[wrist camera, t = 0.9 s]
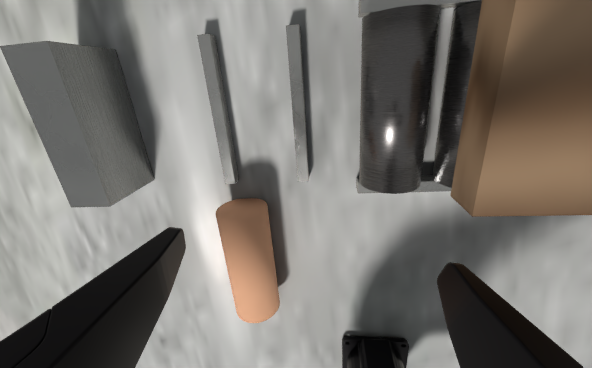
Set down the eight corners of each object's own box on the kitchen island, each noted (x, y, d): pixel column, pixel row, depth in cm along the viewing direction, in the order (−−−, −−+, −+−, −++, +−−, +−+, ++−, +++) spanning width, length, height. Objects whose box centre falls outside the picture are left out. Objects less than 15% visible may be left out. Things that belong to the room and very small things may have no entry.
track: (631, 179, 18) (707, 205, 15) (231, 190, 22) (212, 213, 18) (727, -40, 14) (873, -82, 10) (200, 20, 17) (167, 5, 14)
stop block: (154, 179, 22) (110, 206, 18) (122, 180, 23) (71, 207, 18) (115, 49, 19) (47, 41, 14) (78, 53, 19) (-1, 46, 14)
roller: (282, 288, 26) (275, 323, 22) (243, 287, 26) (230, 322, 23) (271, 197, 22) (260, 221, 18) (226, 198, 23) (206, 222, 19)
